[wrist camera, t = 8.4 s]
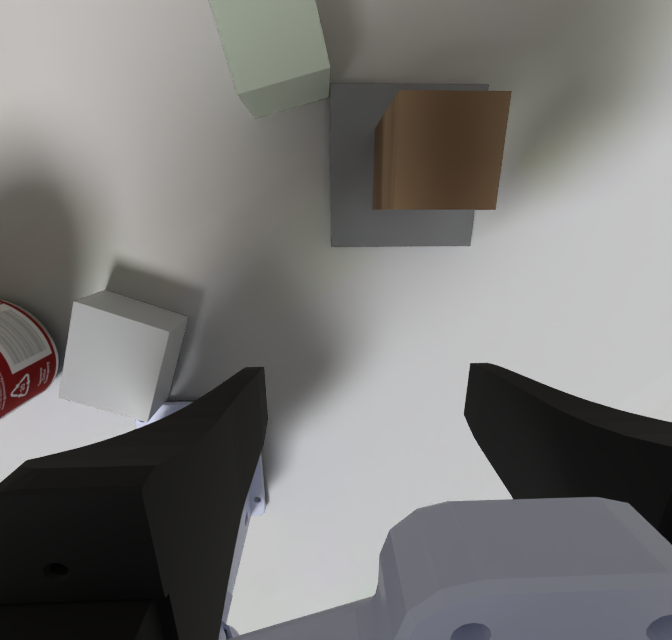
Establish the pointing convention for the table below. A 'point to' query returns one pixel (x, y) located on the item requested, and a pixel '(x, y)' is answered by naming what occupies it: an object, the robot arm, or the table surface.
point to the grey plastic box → (121, 354)
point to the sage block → (273, 52)
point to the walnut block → (440, 150)
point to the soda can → (23, 357)
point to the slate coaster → (358, 168)
